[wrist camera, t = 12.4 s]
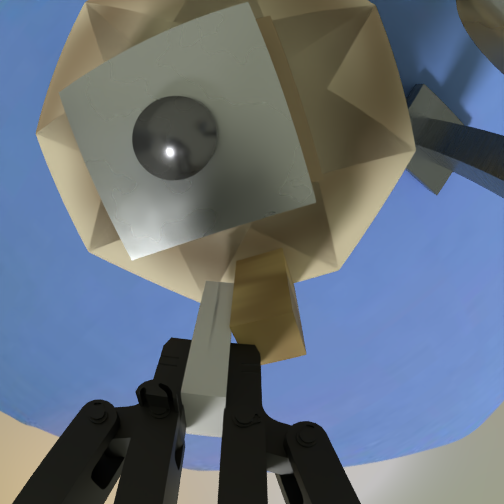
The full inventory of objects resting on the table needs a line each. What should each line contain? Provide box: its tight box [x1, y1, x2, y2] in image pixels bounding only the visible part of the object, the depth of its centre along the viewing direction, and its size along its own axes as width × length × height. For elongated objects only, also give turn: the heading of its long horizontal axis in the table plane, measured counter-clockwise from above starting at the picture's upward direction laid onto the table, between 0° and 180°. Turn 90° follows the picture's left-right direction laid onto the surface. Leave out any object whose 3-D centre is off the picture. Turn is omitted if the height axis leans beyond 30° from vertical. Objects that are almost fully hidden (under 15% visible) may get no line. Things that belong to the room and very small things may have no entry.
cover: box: [59, 2, 316, 260], centre depth 10 cm, size 7×7×5 cm
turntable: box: [36, 0, 416, 365], centre depth 11 cm, size 18×18×7 cm
